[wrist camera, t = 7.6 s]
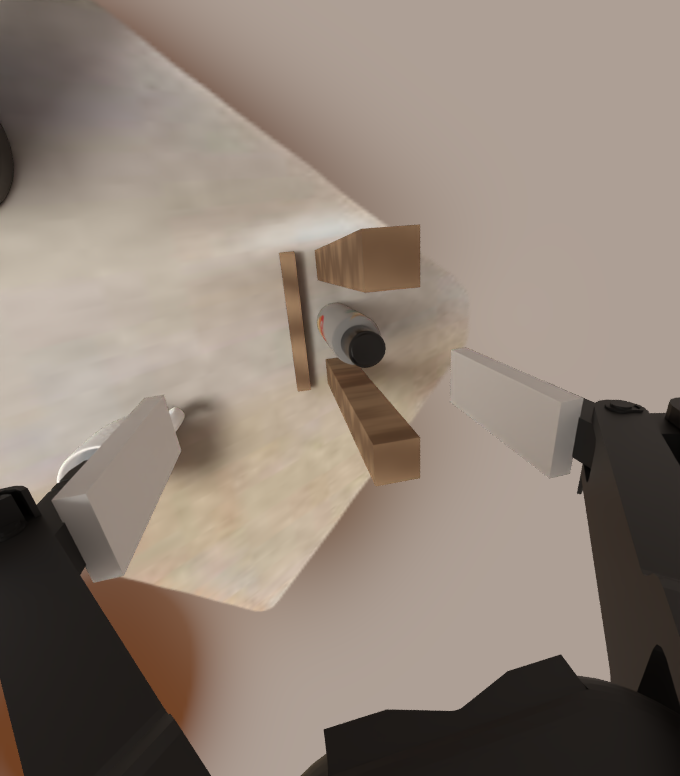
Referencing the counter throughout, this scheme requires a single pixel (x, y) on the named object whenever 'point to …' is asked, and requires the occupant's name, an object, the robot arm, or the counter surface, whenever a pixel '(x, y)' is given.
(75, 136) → the counter surface
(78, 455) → the mug
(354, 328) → the lotion bottle
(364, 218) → the counter surface
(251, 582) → the counter surface
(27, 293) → the counter surface
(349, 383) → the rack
